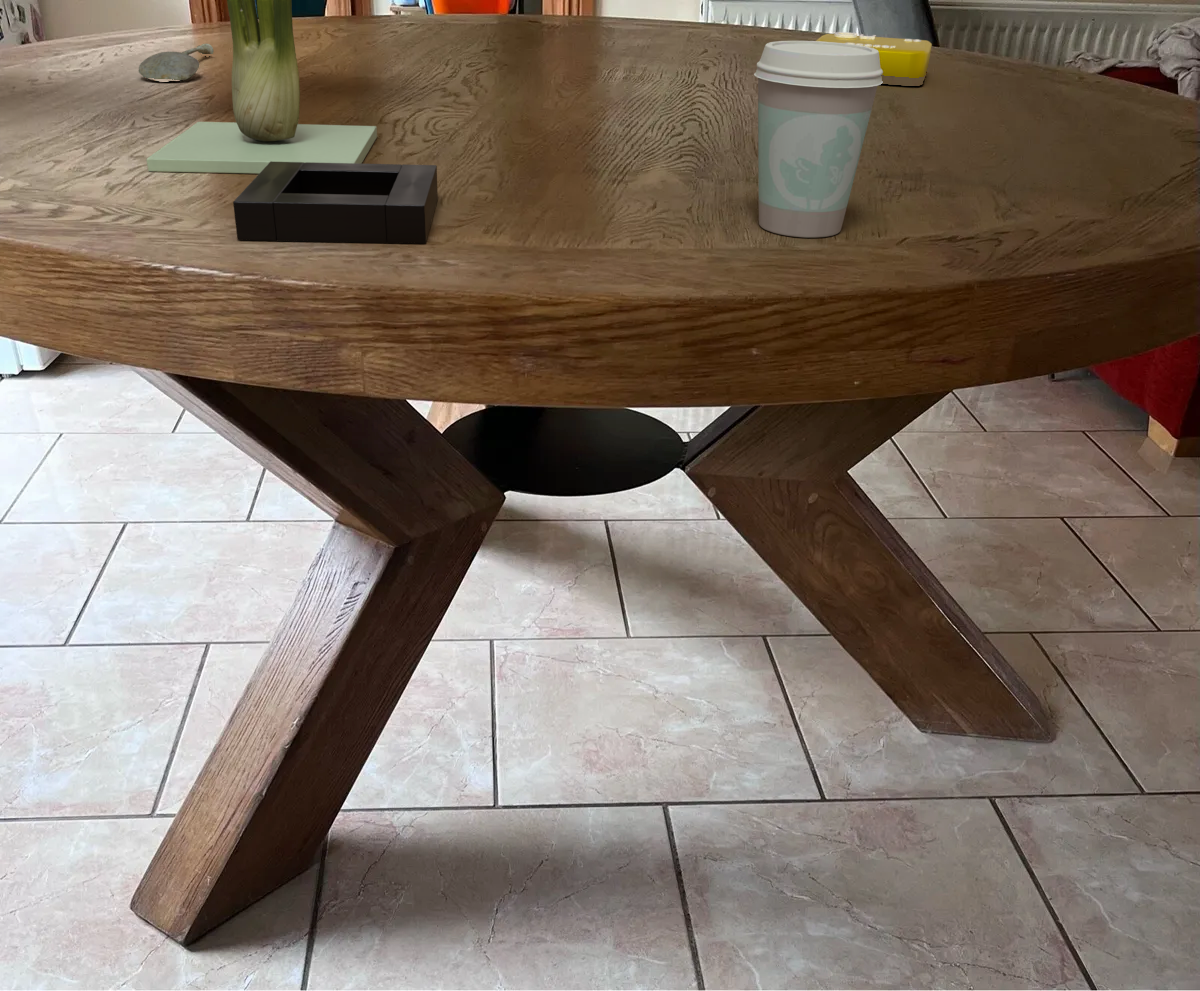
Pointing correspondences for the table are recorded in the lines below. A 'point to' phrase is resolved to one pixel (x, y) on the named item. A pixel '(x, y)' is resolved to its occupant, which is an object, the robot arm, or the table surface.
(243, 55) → the fennel bulb
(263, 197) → the frame
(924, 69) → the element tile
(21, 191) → the table surface
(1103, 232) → the table surface
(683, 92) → the table surface
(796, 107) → the coffee cup
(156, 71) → the soupspoon
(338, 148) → the board
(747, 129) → the table surface
